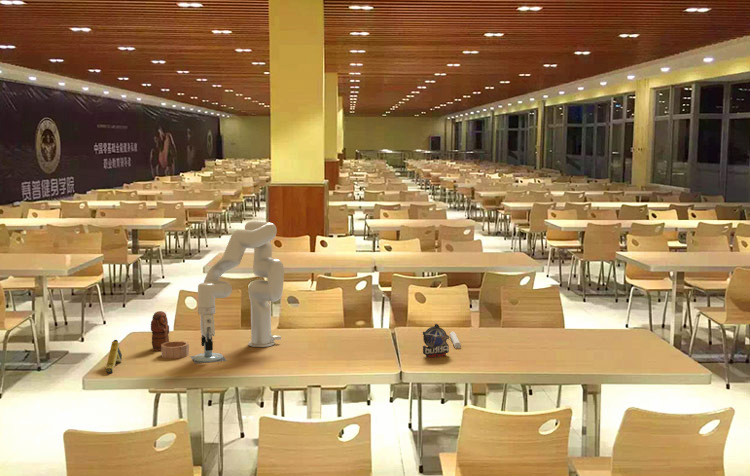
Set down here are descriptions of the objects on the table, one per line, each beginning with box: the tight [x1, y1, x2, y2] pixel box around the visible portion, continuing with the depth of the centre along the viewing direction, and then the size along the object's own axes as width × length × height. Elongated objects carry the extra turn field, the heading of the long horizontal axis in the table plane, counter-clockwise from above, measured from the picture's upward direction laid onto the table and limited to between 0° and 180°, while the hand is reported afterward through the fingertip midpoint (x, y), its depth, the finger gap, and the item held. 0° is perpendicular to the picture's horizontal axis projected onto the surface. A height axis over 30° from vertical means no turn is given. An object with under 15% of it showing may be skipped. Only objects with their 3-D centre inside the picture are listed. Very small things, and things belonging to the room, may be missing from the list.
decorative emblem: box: [422, 323, 450, 359], centre depth 377 cm, size 12×2×15 cm, turn 108°
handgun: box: [105, 339, 123, 374], centre depth 362 cm, size 2×19×12 cm
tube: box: [449, 330, 462, 349], centre depth 405 cm, size 3×3×25 cm
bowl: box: [160, 340, 190, 360], centre depth 381 cm, size 12×12×6 cm
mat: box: [189, 353, 228, 365], centre depth 375 cm, size 14×14×1 cm
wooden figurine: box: [150, 310, 170, 352], centre depth 394 cm, size 12×6×18 cm, turn 175°
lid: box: [193, 343, 224, 363], centre depth 374 cm, size 13×13×7 cm
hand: (207, 348), depth 374 cm, fingers open, 9 cm apart
